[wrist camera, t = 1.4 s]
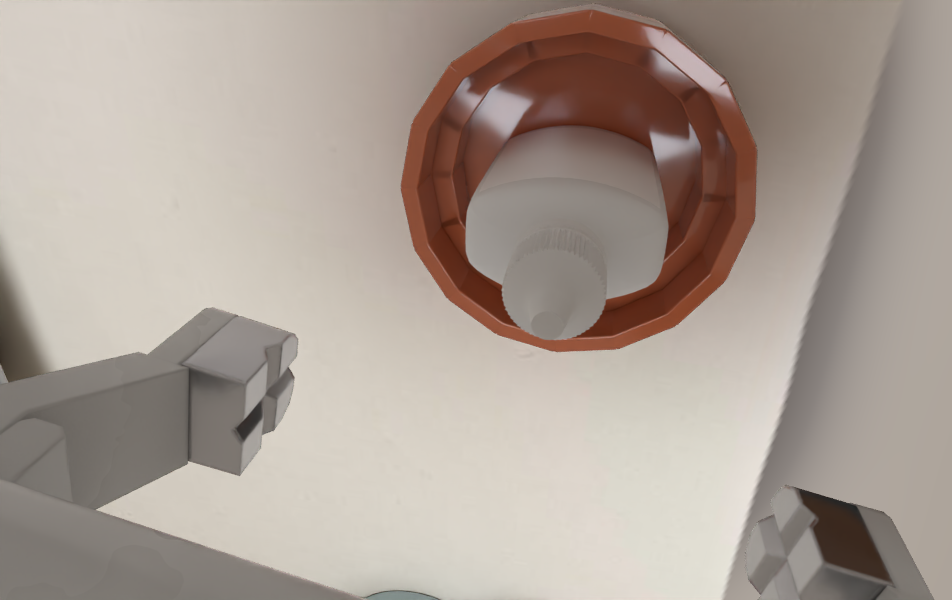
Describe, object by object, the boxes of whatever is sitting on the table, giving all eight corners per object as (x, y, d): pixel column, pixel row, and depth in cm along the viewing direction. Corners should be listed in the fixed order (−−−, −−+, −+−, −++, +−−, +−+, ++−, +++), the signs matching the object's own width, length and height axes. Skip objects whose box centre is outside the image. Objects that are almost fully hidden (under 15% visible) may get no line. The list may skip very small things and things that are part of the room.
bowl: (469, -31, 22) (438, -32, 18) (787, 53, 21) (827, 71, 17) (413, 253, 27) (380, 300, 24) (665, 327, 27) (674, 388, 23)
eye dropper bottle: (546, 76, 23) (488, 168, 12) (675, 163, 23) (726, 323, 13) (483, 176, 25) (388, 328, 14) (603, 253, 25) (595, 455, 15)
